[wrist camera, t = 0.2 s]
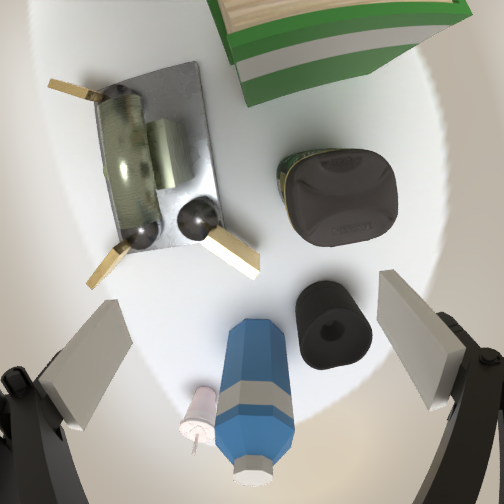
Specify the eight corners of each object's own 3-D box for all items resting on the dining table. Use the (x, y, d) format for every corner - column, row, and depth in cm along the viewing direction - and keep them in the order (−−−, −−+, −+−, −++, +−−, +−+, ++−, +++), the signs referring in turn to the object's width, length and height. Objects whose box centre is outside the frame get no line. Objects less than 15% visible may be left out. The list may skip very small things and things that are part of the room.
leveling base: (99, 94, 35) (34, 78, 21) (197, 64, 34) (164, 22, 20) (128, 250, 43) (76, 295, 28) (226, 235, 42) (208, 281, 27)
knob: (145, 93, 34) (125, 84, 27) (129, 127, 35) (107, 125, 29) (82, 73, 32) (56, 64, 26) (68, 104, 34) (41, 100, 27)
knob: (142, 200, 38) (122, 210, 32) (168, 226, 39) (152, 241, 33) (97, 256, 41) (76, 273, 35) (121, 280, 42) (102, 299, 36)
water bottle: (269, 370, 49) (272, 500, 26) (218, 351, 48) (194, 483, 25) (295, 330, 47) (318, 466, 23) (241, 308, 45) (226, 447, 22)
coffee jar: (341, 144, 37) (403, 143, 20) (350, 201, 40) (411, 241, 22) (270, 156, 38) (279, 159, 21) (281, 214, 41) (298, 263, 23)
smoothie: (187, 400, 53) (172, 456, 39) (190, 377, 50) (174, 437, 37) (219, 407, 53) (211, 465, 40) (225, 385, 51) (217, 446, 38)
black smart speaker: (315, 266, 43) (329, 298, 34) (364, 294, 44) (386, 329, 35) (280, 316, 46) (285, 356, 36) (329, 339, 47) (342, 379, 38)
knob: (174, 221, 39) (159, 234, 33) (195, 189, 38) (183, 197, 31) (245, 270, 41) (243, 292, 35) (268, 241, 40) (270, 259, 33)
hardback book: (248, 107, 36) (231, 48, 14) (228, 60, 34) (191, -38, 11) (369, 73, 34) (473, 14, 11) (349, 28, 32) (425, -61, 9)
